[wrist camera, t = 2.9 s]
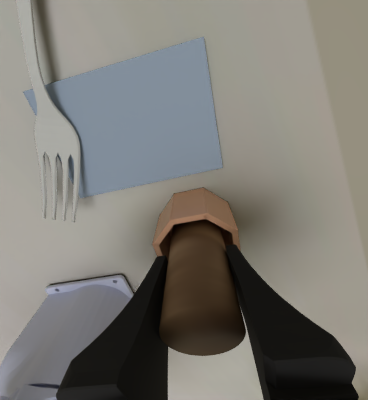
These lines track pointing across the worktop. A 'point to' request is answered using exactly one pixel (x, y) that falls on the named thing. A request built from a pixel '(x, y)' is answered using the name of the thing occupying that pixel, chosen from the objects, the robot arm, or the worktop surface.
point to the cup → (194, 217)
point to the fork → (49, 122)
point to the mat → (140, 119)
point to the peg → (200, 293)
